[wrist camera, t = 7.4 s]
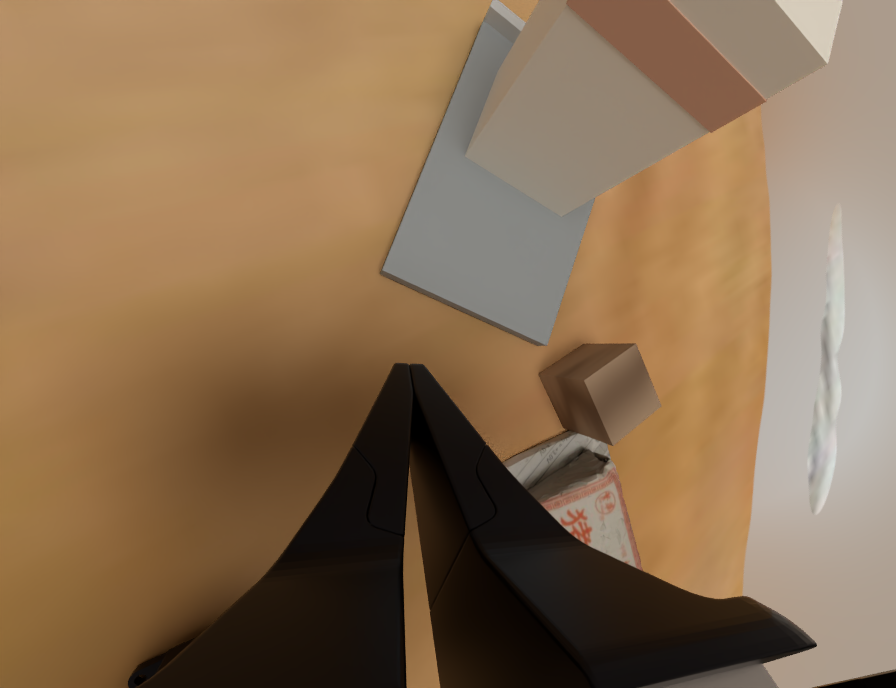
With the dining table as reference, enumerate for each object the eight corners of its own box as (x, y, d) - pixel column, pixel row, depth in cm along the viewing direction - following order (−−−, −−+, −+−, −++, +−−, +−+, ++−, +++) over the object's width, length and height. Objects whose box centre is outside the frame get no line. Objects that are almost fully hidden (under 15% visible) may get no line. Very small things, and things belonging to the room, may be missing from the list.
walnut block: (605, 395, 27) (661, 406, 23) (562, 427, 26) (613, 446, 21) (582, 343, 27) (636, 343, 22) (537, 373, 25) (583, 380, 20)
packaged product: (692, 650, 24) (592, 741, 21) (636, 602, 29) (547, 671, 26) (637, 430, 23) (519, 495, 19) (586, 416, 27) (485, 466, 24)
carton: (561, 217, 24) (828, 66, 11) (463, 156, 22) (659, -137, 9) (588, 138, 25) (865, -90, 12) (497, 70, 23) (722, -317, 9)
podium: (537, 345, 25) (555, 345, 23) (379, 274, 21) (384, 266, 19) (609, 127, 28) (631, 110, 25) (480, 27, 24) (494, -4, 21)
